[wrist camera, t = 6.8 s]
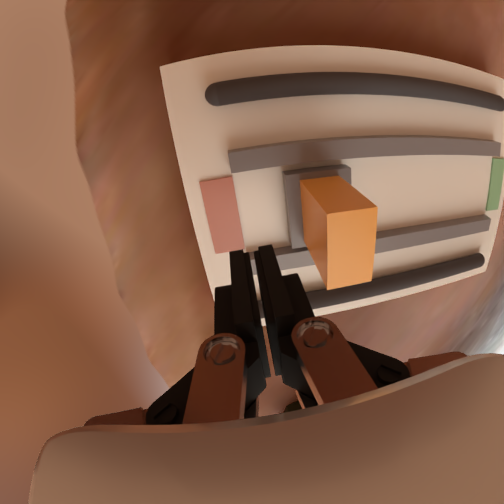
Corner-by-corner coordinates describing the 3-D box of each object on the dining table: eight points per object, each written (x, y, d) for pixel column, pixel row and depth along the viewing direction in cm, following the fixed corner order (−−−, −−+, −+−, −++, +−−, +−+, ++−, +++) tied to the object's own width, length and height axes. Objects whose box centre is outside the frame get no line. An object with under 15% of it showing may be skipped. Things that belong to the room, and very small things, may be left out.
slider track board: (487, 78, 15) (516, 82, 12) (470, 257, 25) (490, 276, 22) (170, 71, 15) (155, 64, 12) (223, 308, 26) (223, 340, 22)
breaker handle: (344, 164, 16) (393, 196, 11) (345, 232, 19) (384, 284, 14) (281, 171, 16) (307, 207, 11) (289, 241, 19) (311, 299, 14)
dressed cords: (497, 95, 14) (508, 98, 12) (477, 261, 22) (485, 268, 21) (204, 85, 14) (201, 84, 13) (247, 311, 22) (248, 324, 21)
